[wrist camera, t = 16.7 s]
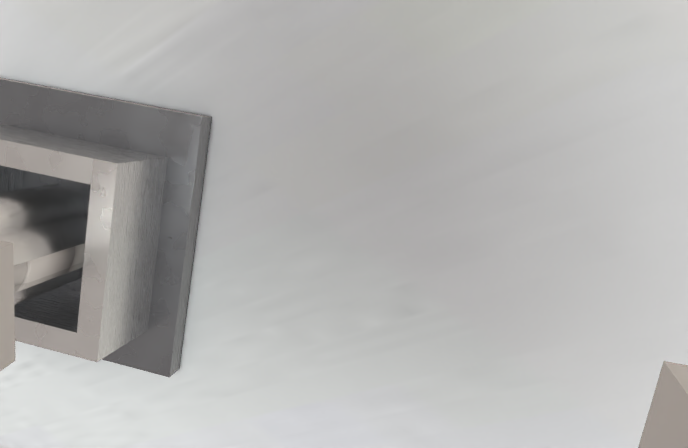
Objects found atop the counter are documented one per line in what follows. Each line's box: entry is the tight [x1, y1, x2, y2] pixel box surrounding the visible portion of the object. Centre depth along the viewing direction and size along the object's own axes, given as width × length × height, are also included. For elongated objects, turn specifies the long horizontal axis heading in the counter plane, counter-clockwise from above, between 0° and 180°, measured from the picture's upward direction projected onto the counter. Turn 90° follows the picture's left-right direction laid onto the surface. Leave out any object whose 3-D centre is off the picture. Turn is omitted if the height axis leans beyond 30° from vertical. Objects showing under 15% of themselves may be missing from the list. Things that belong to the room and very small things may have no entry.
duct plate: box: [0, 78, 212, 377], centre depth 41 cm, size 18×16×8 cm
